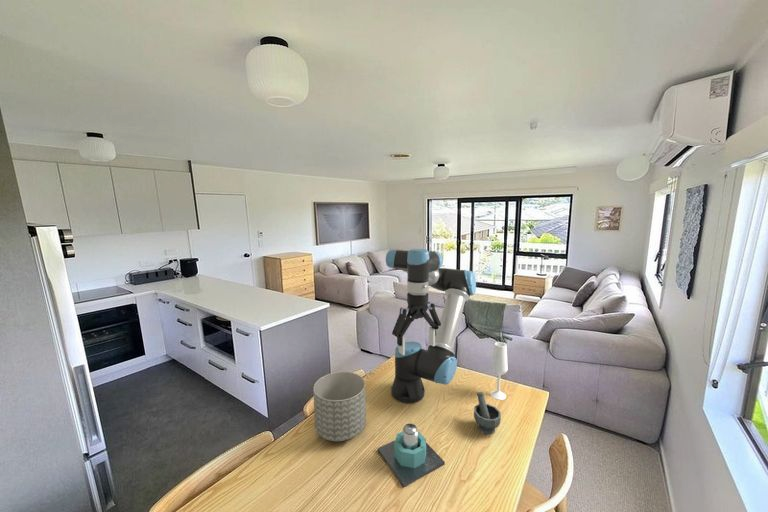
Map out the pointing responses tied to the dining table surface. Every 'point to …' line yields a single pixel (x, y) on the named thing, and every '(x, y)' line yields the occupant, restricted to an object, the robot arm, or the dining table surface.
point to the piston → (410, 442)
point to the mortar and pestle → (486, 415)
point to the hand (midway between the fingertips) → (417, 349)
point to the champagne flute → (499, 367)
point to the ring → (410, 452)
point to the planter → (339, 406)
